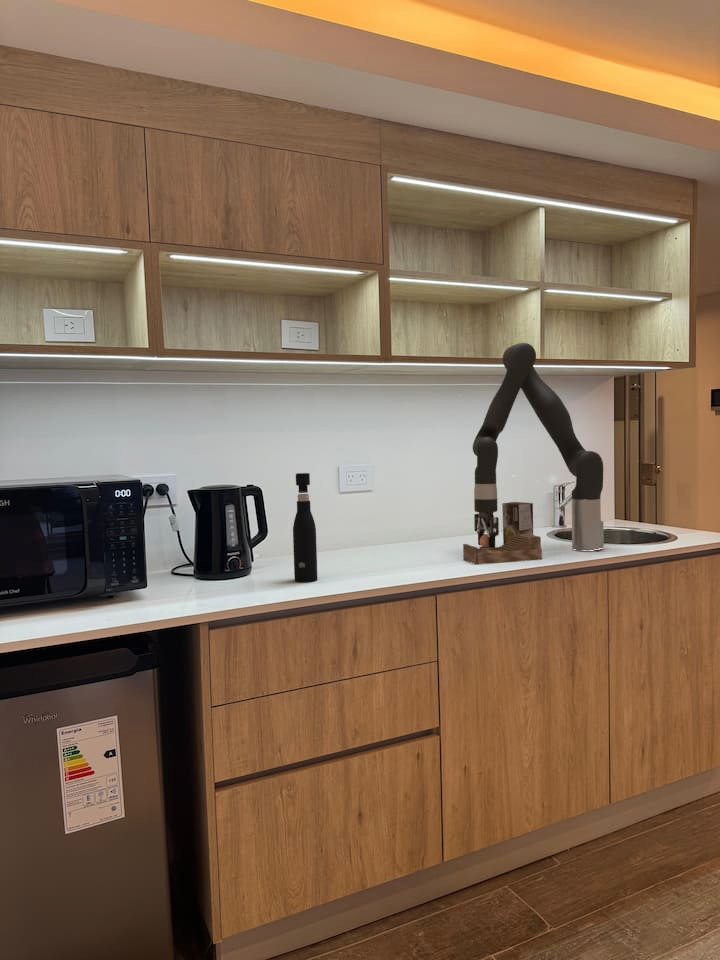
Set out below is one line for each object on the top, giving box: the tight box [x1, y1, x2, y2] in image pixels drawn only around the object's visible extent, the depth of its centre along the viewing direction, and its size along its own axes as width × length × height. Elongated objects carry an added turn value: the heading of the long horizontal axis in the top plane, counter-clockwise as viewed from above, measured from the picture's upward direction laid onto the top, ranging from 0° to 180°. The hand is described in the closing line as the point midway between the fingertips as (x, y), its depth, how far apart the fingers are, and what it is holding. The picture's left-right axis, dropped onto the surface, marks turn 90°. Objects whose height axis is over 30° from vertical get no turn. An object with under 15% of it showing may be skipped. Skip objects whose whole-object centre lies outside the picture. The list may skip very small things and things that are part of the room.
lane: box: [462, 534, 543, 565], centre depth 213 cm, size 22×9×7 cm, turn 104°
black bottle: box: [292, 472, 319, 584], centre depth 188 cm, size 6×6×30 cm
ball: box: [480, 533, 488, 548], centre depth 224 cm, size 5×5×5 cm
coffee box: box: [501, 501, 534, 545], centre depth 232 cm, size 9×6×16 cm
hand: (486, 546), depth 224 cm, fingers open, 7 cm apart
